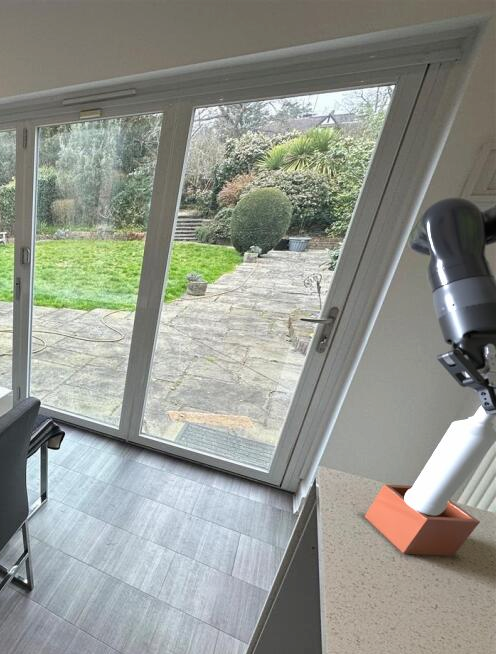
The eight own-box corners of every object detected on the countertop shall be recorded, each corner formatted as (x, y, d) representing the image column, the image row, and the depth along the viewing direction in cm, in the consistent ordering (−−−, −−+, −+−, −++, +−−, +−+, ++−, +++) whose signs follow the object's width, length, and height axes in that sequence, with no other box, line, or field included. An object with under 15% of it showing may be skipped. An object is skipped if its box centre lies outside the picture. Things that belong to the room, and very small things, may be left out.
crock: (409, 518, 88) (431, 486, 84) (453, 555, 79) (480, 521, 75) (364, 516, 88) (384, 484, 84) (403, 553, 79) (427, 519, 75)
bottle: (429, 519, 71) (520, 393, 59) (395, 498, 75) (474, 377, 63) (449, 513, 72) (542, 389, 60) (414, 493, 76) (495, 374, 65)
